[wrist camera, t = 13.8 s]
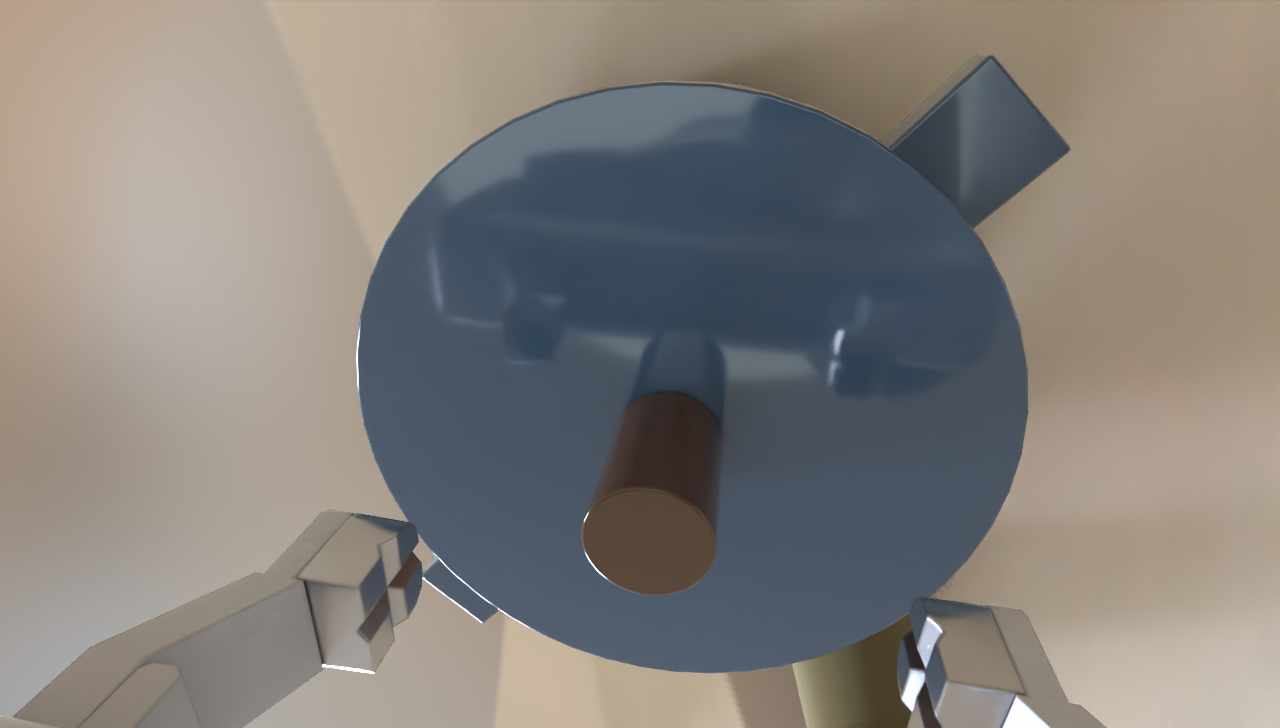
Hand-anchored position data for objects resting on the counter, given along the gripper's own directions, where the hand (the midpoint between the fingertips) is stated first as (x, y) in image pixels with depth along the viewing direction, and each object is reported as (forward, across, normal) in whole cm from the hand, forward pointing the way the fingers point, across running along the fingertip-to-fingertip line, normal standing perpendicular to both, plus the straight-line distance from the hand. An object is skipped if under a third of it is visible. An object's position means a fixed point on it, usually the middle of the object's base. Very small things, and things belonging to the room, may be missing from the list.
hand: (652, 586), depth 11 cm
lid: (+5, 0, 0) cm, 5 cm away
